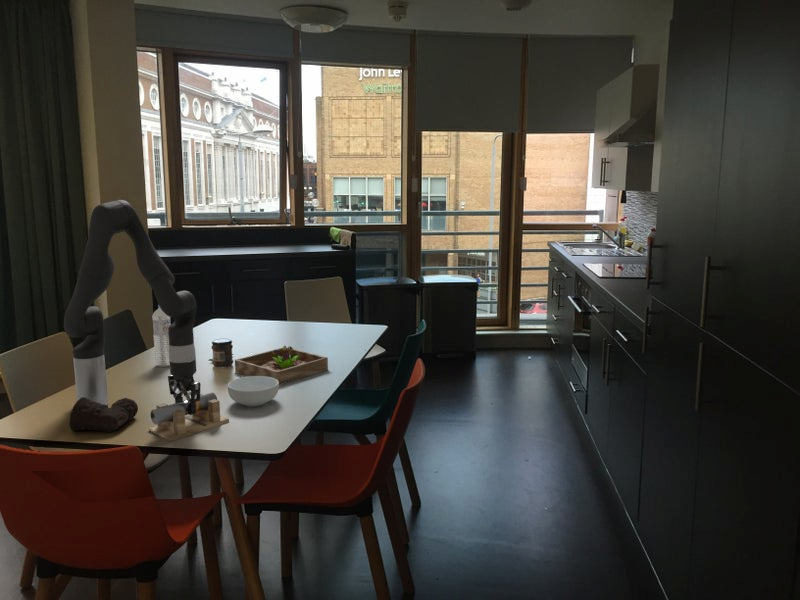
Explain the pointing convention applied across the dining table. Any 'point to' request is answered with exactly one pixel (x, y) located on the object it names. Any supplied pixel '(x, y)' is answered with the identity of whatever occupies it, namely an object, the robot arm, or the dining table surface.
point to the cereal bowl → (253, 390)
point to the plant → (283, 360)
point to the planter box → (255, 362)
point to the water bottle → (161, 337)
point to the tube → (179, 408)
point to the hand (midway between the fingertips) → (185, 411)
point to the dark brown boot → (101, 415)
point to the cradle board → (190, 422)
